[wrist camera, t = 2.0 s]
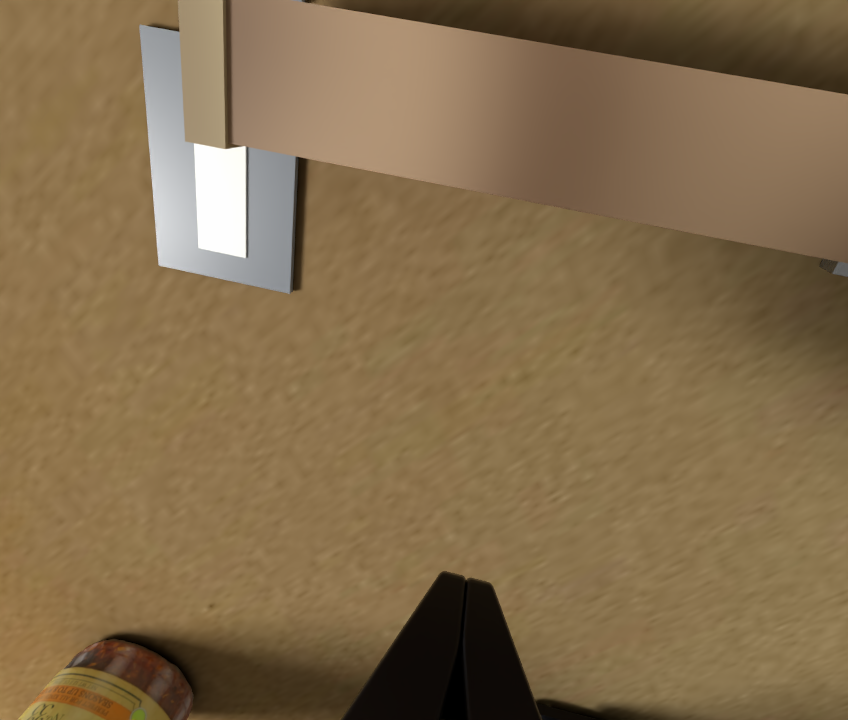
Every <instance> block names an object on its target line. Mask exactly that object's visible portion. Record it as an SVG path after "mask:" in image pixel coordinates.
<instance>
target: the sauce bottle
mask: <svg viewBox="0 0 848 720" xmlns="http://www.w3.org/2000/svg"><path fill="white" fill-rule="evenodd" d="M193 697H194V695H193V693H192V690H191V686H190V685H189V683H188V682H187V681H186V679H185V677H184V676H183V674H182V672H181V671H180V670H179V668H178V667H177V666H176V665H174V664H172V663H170V662H168V661H167V660H166V659H164V658H163V657H161V656H160V655H159V654H157V653H155V652H153V651H151V650H149V649H147V648H145V647H143V646H140V645H138V644H135V643H130V642H127V641H124V640H117V639H111V640H104V641H100V642H96V643H94V644H92V645H89V646H88V647H87V648H86V649H84V650H83V651H82V652H80V653H78V654H77V655H76V656H75V657H74V658H73V659H72V661H71V662H70V663H69V664H68V665H67V666H66V667H65V668H64V669H63V670H61V671H60V672H59V673H58V674H57V675H56V676H55V677H54V678H53V679H52V680H51V682H50V683H49V684H48V685H47V686H46V687H45V689H44V690H43V691H42V692H41V693H40V694H39V696H38V697H37V698H36V699H35V700H34V702H33V703H32V704H31V705H30V706H29V707H28V709H27V710H26V711H25V712H24V713H23V714H22V716H21V717H20V718H19V719H18V720H187V718H188V716H189V713H190V711H191V710H192V704H193Z"/></svg>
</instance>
